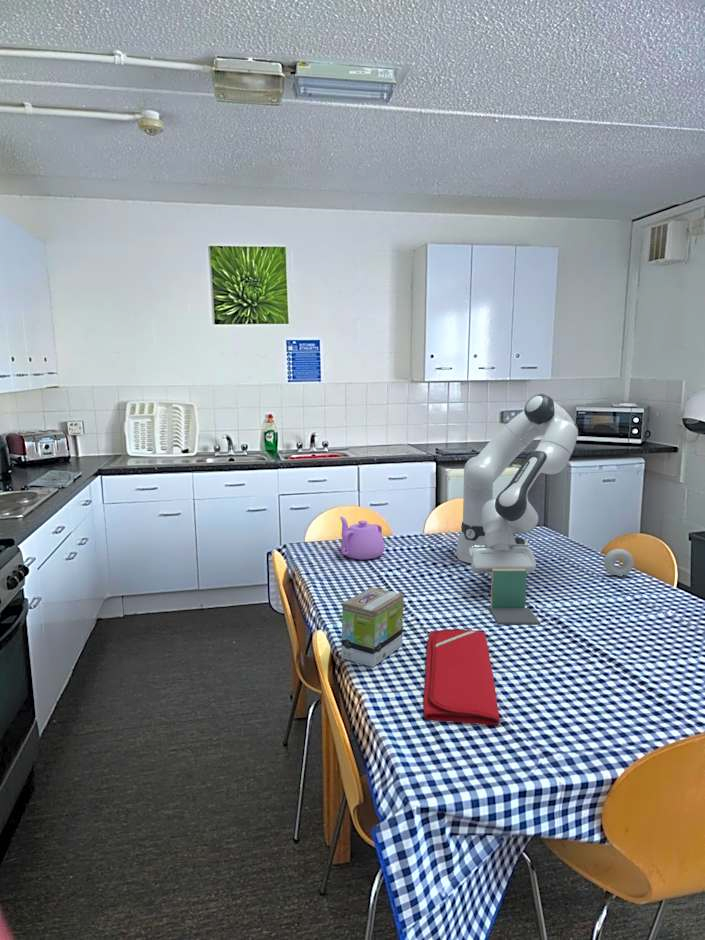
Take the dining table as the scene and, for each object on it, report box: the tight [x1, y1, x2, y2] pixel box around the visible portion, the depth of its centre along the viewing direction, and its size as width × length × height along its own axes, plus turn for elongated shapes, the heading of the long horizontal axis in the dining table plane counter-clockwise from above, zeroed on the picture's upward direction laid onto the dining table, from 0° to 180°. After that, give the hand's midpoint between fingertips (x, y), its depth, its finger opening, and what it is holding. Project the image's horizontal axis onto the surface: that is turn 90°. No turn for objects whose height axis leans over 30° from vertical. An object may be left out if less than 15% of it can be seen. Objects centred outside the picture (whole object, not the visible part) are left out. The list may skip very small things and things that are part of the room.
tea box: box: [340, 587, 404, 668], centre depth 160 cm, size 15×10×15 cm, turn 148°
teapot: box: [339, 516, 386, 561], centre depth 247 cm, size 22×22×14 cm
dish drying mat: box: [423, 628, 501, 727], centre depth 149 cm, size 16×41×4 cm, turn 172°
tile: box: [490, 569, 528, 608], centre depth 191 cm, size 2×10×12 cm, turn 90°
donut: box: [603, 548, 635, 577], centre depth 220 cm, size 10×4×10 cm, turn 84°
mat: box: [489, 607, 541, 625], centre depth 184 cm, size 11×12×1 cm
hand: (506, 584), depth 197 cm, fingers closed
